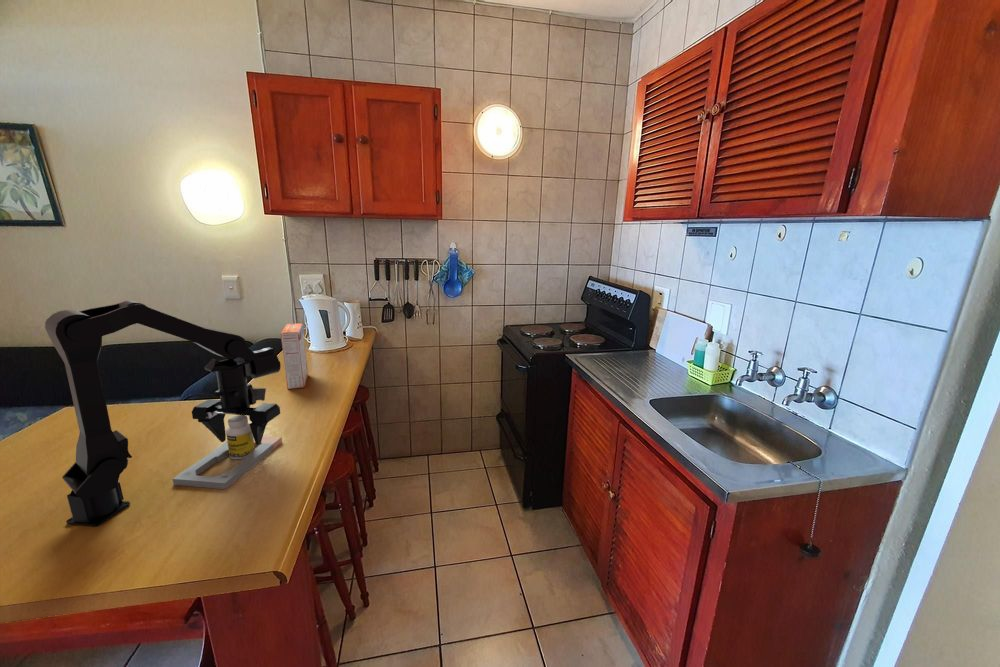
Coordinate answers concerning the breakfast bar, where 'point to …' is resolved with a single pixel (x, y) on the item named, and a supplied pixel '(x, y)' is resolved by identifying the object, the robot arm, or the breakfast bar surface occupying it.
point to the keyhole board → (230, 477)
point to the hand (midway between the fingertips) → (241, 442)
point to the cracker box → (294, 355)
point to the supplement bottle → (239, 437)
